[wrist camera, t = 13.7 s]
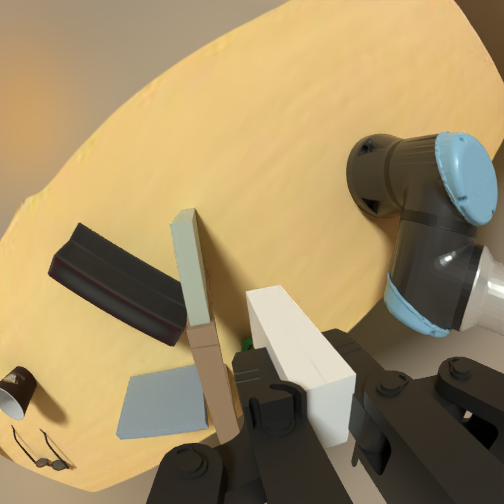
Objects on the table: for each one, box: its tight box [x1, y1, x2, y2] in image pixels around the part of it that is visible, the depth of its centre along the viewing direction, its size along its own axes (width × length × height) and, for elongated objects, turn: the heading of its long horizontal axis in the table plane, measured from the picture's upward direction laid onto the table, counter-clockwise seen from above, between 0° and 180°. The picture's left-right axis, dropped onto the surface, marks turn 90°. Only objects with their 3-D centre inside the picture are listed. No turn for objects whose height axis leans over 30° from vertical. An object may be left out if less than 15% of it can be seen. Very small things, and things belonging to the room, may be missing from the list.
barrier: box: [48, 223, 187, 347], centre depth 38 cm, size 24×9×10 cm, turn 57°
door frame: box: [170, 208, 240, 445], centre depth 37 cm, size 3×38×19 cm, turn 7°
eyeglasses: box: [11, 425, 69, 471], centre depth 44 cm, size 15×15×5 cm
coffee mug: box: [0, 366, 36, 420], centre depth 37 cm, size 12×9×10 cm
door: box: [116, 365, 209, 440], centre depth 40 cm, size 14×3×15 cm, turn 102°
